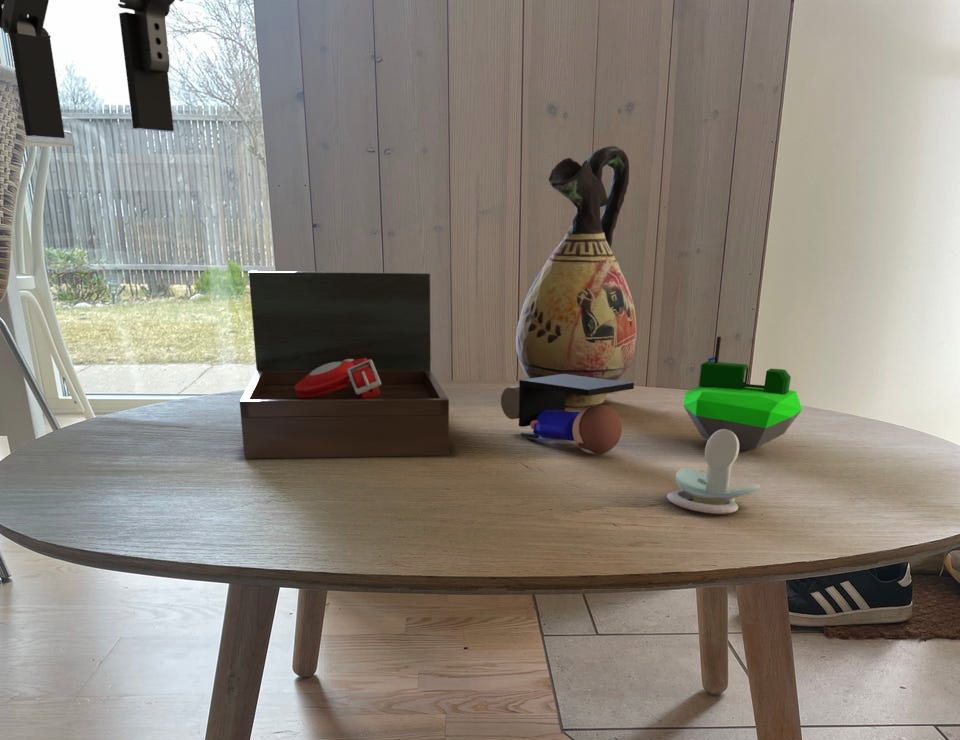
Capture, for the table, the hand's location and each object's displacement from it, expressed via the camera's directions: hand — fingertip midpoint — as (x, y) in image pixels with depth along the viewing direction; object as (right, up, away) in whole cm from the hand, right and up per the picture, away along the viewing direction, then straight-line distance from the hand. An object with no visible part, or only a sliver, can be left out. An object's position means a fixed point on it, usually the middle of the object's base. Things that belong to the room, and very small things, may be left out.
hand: (96, 134), depth 67 cm
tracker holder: (+13, -11, +32) cm, 36 cm away
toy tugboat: (+55, -16, +32) cm, 65 cm away
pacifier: (+47, -25, +11) cm, 54 cm away
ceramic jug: (+41, -5, +56) cm, 69 cm away
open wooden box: (+13, -14, +34) cm, 39 cm away
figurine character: (+36, -16, +32) cm, 51 cm away
